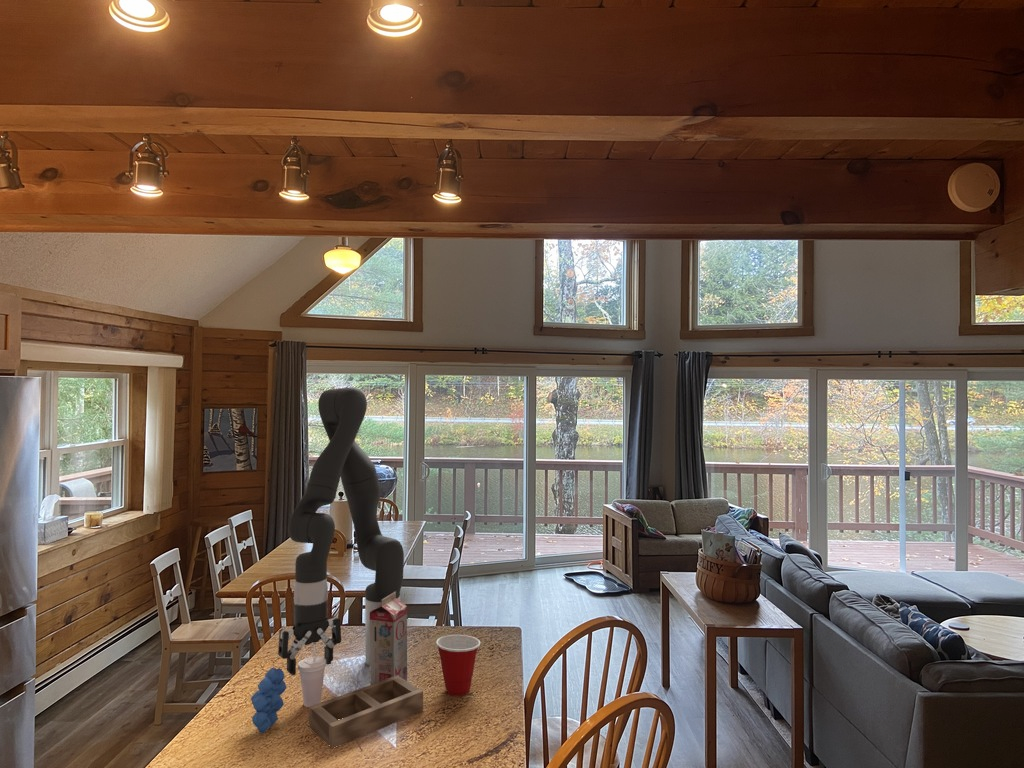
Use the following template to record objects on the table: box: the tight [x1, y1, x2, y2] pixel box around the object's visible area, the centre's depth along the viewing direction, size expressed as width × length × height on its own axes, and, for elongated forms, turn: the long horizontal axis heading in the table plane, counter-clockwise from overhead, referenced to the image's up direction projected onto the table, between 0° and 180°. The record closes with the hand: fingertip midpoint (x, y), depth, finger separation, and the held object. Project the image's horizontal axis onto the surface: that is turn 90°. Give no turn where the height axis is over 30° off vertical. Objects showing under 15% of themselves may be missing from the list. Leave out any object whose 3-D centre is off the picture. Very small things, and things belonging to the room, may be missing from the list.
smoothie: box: [297, 642, 327, 708], centre depth 145 cm, size 6×6×14 cm
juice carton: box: [369, 592, 408, 685], centre depth 154 cm, size 7×7×22 cm
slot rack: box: [308, 675, 424, 749], centre depth 138 cm, size 22×11×4 cm, turn 132°
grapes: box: [250, 667, 287, 734], centre depth 135 cm, size 12×7×12 cm, turn 173°
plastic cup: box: [435, 634, 481, 697], centre depth 151 cm, size 11×11×12 cm
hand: (310, 668), depth 145 cm, fingers open, 8 cm apart
